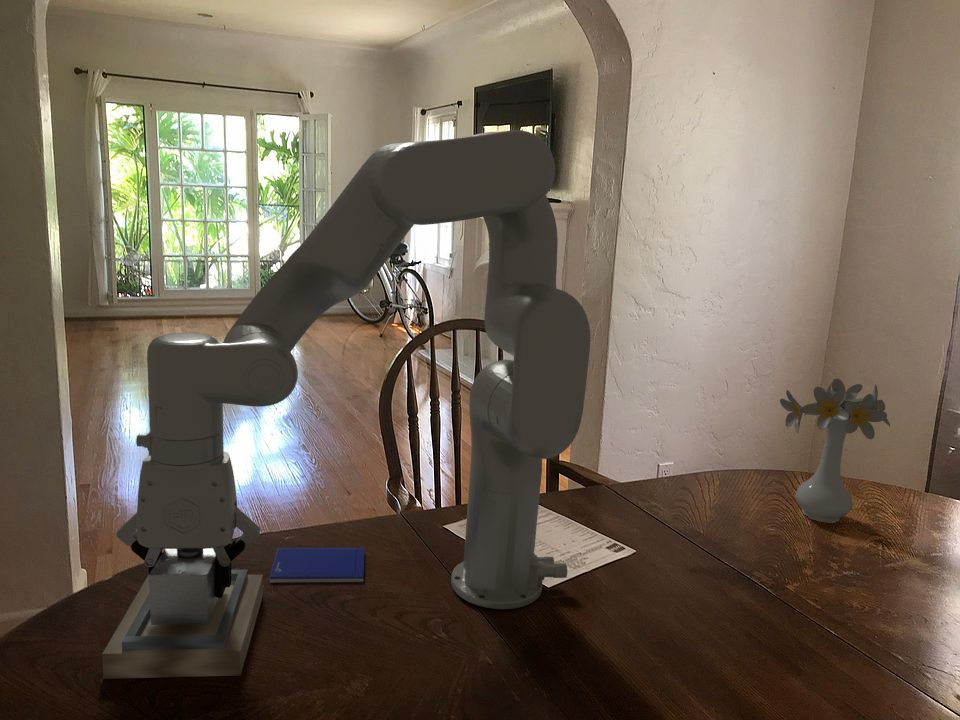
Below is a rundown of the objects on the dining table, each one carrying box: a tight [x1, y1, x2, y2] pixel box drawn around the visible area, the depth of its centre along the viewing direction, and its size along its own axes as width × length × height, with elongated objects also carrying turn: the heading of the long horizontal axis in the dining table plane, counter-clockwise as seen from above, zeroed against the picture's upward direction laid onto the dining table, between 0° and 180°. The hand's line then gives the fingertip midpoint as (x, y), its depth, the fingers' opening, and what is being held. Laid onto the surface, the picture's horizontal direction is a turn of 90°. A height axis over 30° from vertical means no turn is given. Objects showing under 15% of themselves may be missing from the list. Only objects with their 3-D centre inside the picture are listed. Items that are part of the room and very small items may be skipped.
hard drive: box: [269, 547, 366, 583], centre depth 103 cm, size 2×8×12 cm
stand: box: [101, 569, 264, 680], centre depth 86 cm, size 14×16×4 cm
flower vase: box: [779, 377, 891, 522], centre depth 129 cm, size 13×18×25 cm
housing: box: [148, 548, 219, 625], centre depth 85 cm, size 10×6×7 cm, turn 7°
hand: (191, 590), depth 86 cm, fingers closed on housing, 6 cm apart
